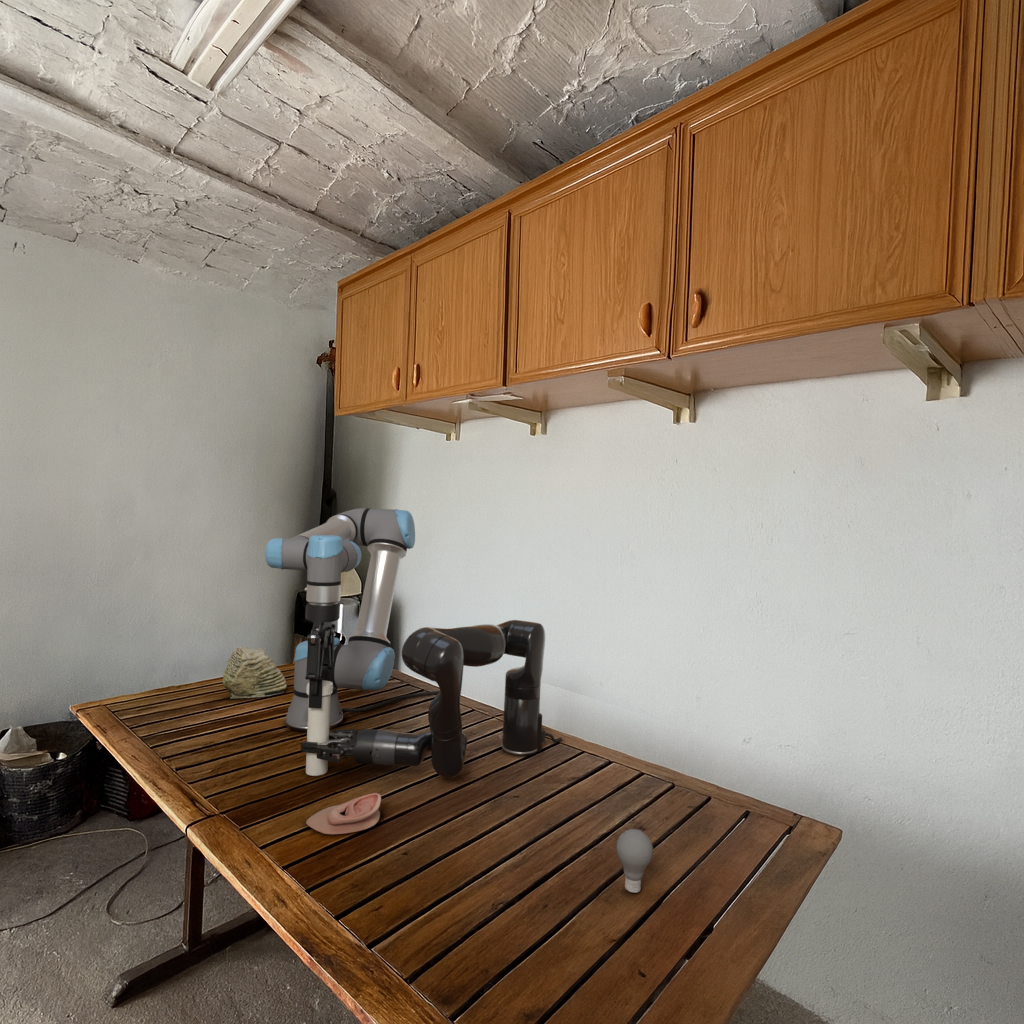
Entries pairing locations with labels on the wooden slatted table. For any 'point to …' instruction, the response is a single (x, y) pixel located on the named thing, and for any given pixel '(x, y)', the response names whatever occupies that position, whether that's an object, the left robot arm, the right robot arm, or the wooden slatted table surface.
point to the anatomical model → (347, 816)
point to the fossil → (252, 674)
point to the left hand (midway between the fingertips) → (319, 702)
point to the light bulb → (634, 857)
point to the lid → (324, 688)
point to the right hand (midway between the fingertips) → (306, 742)
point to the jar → (318, 735)
